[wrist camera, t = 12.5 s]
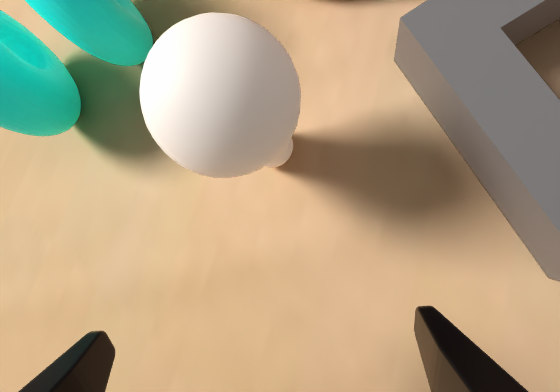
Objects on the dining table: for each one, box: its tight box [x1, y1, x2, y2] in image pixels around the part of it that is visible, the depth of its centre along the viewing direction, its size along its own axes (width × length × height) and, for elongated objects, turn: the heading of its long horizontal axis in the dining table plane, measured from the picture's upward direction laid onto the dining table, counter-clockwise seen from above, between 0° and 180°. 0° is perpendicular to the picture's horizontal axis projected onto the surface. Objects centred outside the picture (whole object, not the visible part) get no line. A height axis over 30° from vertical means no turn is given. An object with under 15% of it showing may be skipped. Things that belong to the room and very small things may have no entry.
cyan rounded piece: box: [0, 0, 153, 136], centre depth 20 cm, size 10×10×10 cm
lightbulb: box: [139, 12, 301, 178], centre depth 16 cm, size 6×6×11 cm
